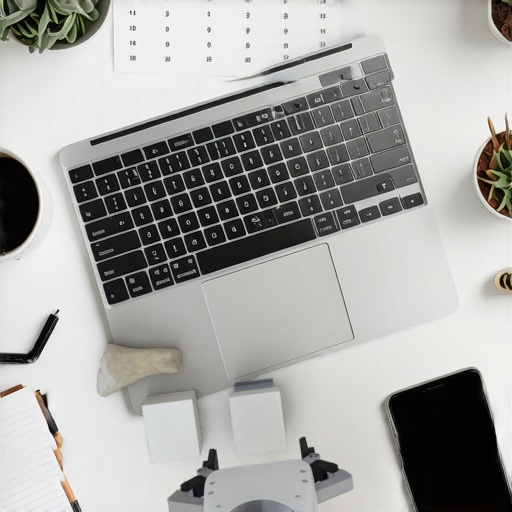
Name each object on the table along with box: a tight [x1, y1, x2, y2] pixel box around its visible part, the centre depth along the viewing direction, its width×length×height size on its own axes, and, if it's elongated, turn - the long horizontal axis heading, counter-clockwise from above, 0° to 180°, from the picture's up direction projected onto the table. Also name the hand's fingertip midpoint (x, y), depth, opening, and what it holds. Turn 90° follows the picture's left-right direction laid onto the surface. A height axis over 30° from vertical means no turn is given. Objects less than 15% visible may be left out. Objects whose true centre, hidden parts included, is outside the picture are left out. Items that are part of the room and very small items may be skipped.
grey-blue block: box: [233, 378, 275, 392], centre depth 72 cm, size 8×5×3 cm, turn 8°
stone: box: [96, 343, 184, 398], centre depth 71 cm, size 11×6×5 cm, turn 108°
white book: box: [227, 386, 288, 457], centre depth 70 cm, size 8×6×2 cm
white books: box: [141, 389, 204, 464], centre depth 72 cm, size 8×6×4 cm
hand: (259, 456), depth 60 cm, fingers open, 9 cm apart
